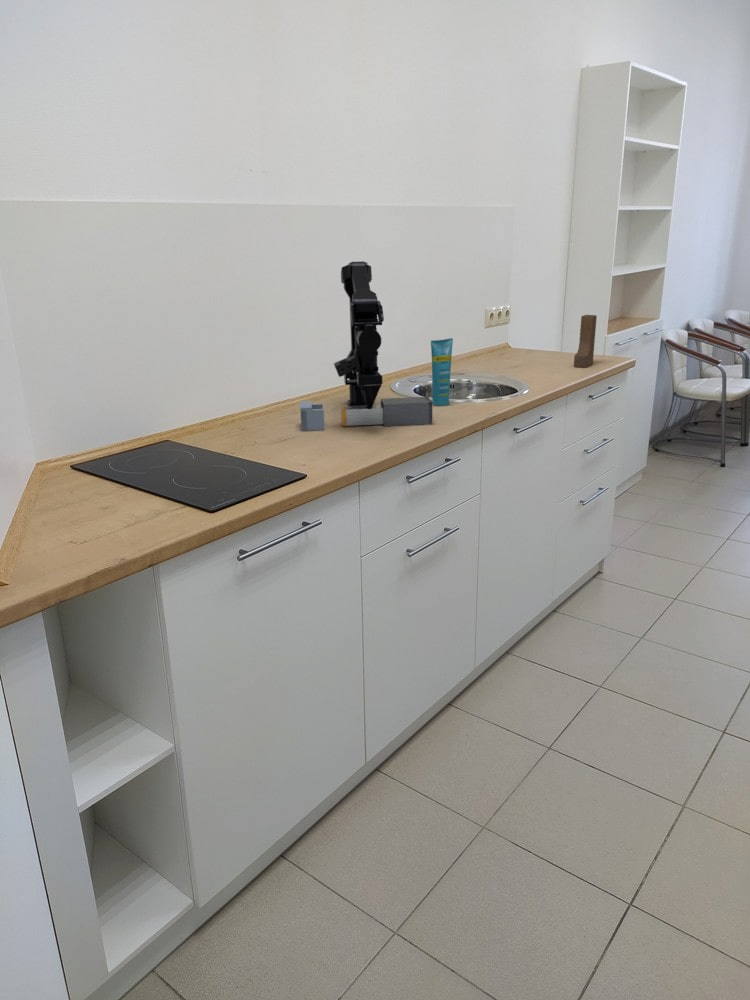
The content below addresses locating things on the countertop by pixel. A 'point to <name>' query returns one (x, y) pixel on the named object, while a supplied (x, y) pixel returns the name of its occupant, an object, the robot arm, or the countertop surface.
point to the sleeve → (407, 411)
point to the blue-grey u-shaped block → (311, 416)
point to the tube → (441, 370)
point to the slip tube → (362, 415)
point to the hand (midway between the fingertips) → (367, 405)
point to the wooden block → (586, 342)
